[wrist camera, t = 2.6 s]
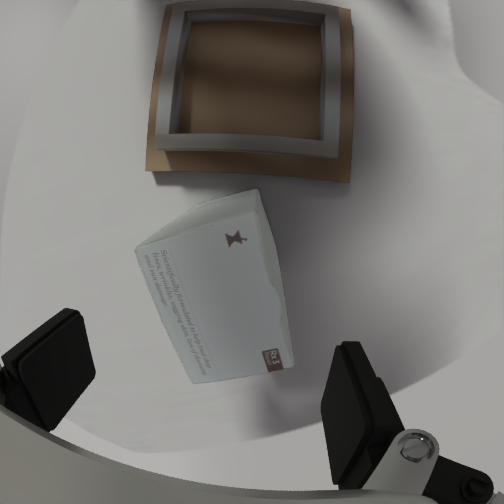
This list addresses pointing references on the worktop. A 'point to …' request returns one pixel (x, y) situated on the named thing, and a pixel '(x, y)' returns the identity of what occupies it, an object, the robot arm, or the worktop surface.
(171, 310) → the skincare box
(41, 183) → the worktop surface
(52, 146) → the worktop surface
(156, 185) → the worktop surface
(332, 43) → the tray
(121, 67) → the worktop surface
